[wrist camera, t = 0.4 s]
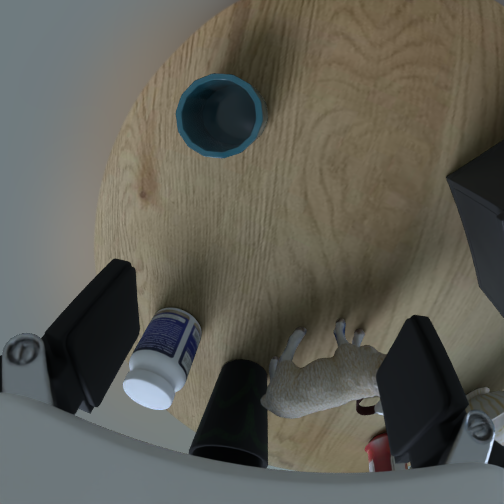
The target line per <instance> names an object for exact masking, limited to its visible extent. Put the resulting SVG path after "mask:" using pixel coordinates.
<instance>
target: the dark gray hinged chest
mask: <svg viewBox="0 0 504 504" xmlns="http://www.w3.org/2000/svg"><path fill="white" fill-rule="evenodd" d="M446 179H447V182H448V184H449V187H450V189H451V192H452V195H453V197H454V200H455V203H456V206H457V208H458V211H459V214H460V217H461V220H462V223H463V227H464V230H465V233H466V236H467V240H468V243H469V247H470V251H471V254H472V258H473V262H474V266H475V270H476V275H477V279H478V284H479V287H480V288H481V290H482V291H483V292H484V293H485V295H486V296H487V297H488V298H489V300H490V301H491V302H492V303H493V305H494V306H495V307H496V309H497V310H498V311H499V312H500V314H501V315H502V316H503V318H504V253H503V247H502V242H501V237H500V232H499V228H498V223H497V219H496V216H497V215H499V214H500V213H501V212H503V211H504V140H502V141H501V142H499V143H498V144H496V145H495V146H493V147H492V148H490V149H489V150H487V151H486V152H484V153H483V154H481V155H480V156H478V157H477V158H475V159H474V160H472V161H470V162H469V163H467V164H466V165H464V166H463V167H461V168H460V169H458V170H457V171H455V172H453V173H452V174H450V175H449V176H447V177H446Z"/></svg>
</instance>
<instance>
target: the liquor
mask: <svg viewBox="0 0 504 504" xmlns="http://www.w3.org/2000/svg"><path fill="white" fill-rule="evenodd" d="M365 451H366V452H367V453H368V458H369V471H370V472H384V471H396V470H407V469H408V466H407V463H400V464H395V459H394V456H392V455H391V453H390V448H389V442H388V436H387V433H383V434H380V435H378V436H376V437H374V438H373V439H372V440H371V441H370V442H369V444H368V445H367V446H366V447H365Z"/></svg>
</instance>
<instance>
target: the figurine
mask: <svg viewBox="0 0 504 504" xmlns="http://www.w3.org/2000/svg"><path fill="white" fill-rule="evenodd" d="M345 326H346V323H345V320H344V319H339V320H337V321H336V327H335V330H334V335H335V337H336V340H337V344H338V348H337V349H336V351H335V354H334V356H333V357H331V358H320V359H317V360H315V361H313V362H311V363H309V364H308V365H306V366H305V367H303V368H299V367H297V366H296V365H295V364H294V363H293V362H292V359H293V355H294V352H295V350H296V348H297V346H298V344H299V343H300V341H301V340H302V338H303V337H304V335H305V334H306V332H307V330H306V328H304V327H299V328H297V329H296V330H295V331H294V333H293V334H292V335H291V336H290V337H289V340H288V343H287V346H286V348H285V350H284V352H283V354H282V355H281V356H280V359H279V363H278V357H273V358H272V360H271V362H270V364H269V374H270V381H271V382H270V383H269V385H268V387H267V391H266V394H265V395H264V396H263V397H262V398H261V400H260V401H261V404H262V406H264V407H265V408H266V409H268V410H269V411H271V412H272V413H274V414H275V415H277V416H279V417H284V418H291V419H292V418H299V417H302V416H305V415H307V414H310V413H313V412H317V411H321V410H325V409H330V408H332V407H337V406H340V405H342V404H345V403H347V402H349V401H350V400H359V399H362V398H367V397H373V396H376V395H377V396H379V397H380V395H379V391H378V386H377V382H376V373H377V370H378V369H379V367H380V365H381V364H382V362H383V360H384V359H385V357H386V355H387V354H382V353H381V352H378V351H377V350H376V349H375V348H374V347H372V346H370V345H364V346H361V347H360V344H361V342H362V339H363V337H364V336H365V334H364V332H363V330H362V329H357V330H356V331H355V332H354V337H353V340H352V343H353V344H350V343H349V342H348V341H347V340H346V338H345ZM277 363H278V366H277Z"/></svg>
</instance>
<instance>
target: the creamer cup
mask: <svg viewBox="0 0 504 504" xmlns="http://www.w3.org/2000/svg"><path fill="white" fill-rule="evenodd" d="M176 119H177V127H178V132H179V133H180V135H181V136H182V138H183V140H184V141H185V143H186V144H187V146H188V147H190V148H191V149H193V150H194V151H196V152H198V153H199V154H201V155H203V156H205V157H214V158H226V157H229V156H232V155H235V154H238V153H241V152H243V151H244V150H245V149H246V148H247V147H249V146H250V145H251V144H252V143H253V142H254V141H255V140H256V139H257V138H258V137H260V136H261V135H262V133H263V131H264V129H265V127H266V124H267V121H268V109H267V104H266V102H265V100H264V98H263V97H262V96H261V94H260V93H259V91H258V90H257V89H255V88H254V87H253V86H252V85H250V84H249V83H247V82H245V81H244V80H242V79H240V78H238V77H237V76H235V75H232V74H216V73H214V74H210V75H208V76H205V77H203V78H200V79H198V80H195V81H194V82H193V83H192V84H191V85H190V86H189V87H188V88H187V89H186V91H185V92H184V93H183V94H182V95H181V98H180V101H179V104H178V107H177V110H176Z"/></svg>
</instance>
